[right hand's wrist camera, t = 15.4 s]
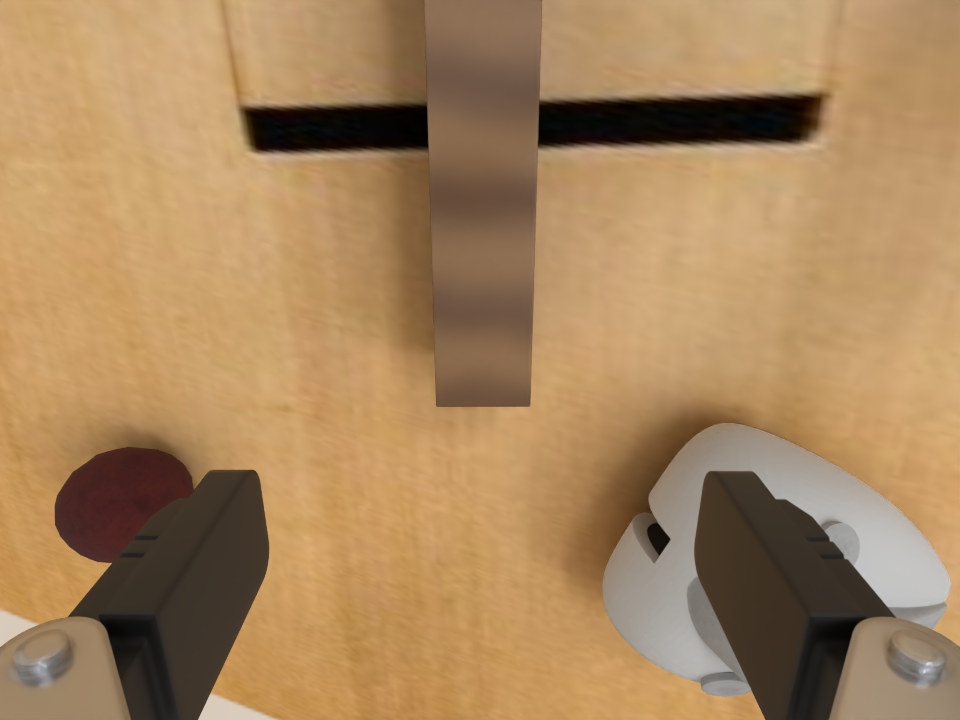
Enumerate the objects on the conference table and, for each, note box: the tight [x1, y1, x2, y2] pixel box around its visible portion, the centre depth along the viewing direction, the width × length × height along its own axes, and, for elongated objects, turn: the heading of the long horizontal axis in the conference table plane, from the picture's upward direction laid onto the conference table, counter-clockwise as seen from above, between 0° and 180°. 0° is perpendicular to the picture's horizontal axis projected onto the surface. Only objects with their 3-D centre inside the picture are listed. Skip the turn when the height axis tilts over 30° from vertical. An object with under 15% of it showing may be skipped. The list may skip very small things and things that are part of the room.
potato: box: [55, 447, 194, 563], centre depth 40 cm, size 7×8×7 cm
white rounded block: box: [602, 423, 951, 696], centre depth 38 cm, size 22×23×15 cm
